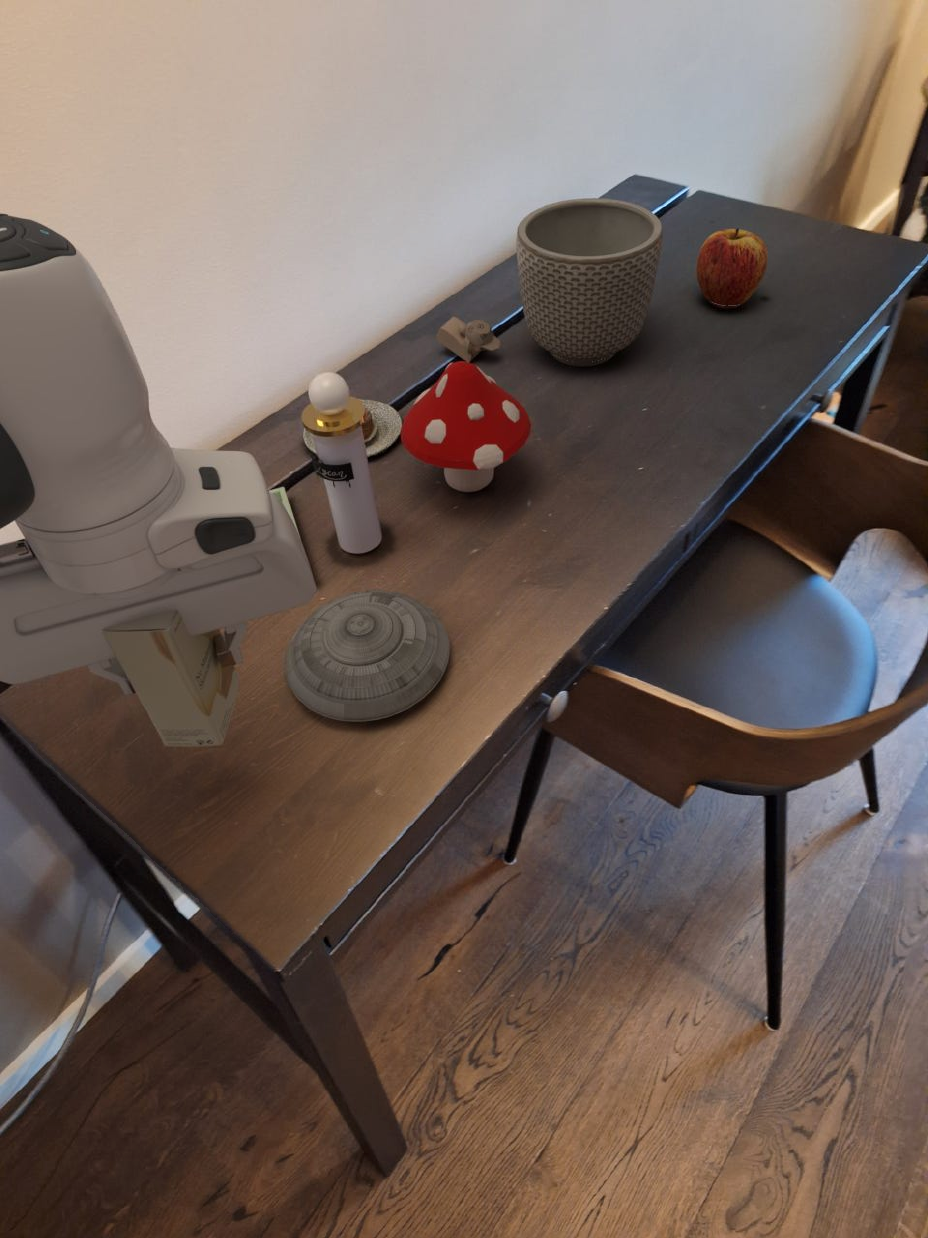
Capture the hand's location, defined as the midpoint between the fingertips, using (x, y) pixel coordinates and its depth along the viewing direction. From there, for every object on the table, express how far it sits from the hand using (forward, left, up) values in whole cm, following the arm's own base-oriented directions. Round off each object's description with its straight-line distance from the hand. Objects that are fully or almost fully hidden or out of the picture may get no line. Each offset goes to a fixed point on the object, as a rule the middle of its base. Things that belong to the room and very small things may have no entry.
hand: (185, 671), depth 56 cm
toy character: (+39, +54, -15) cm, 68 cm away
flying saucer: (+13, +8, -15) cm, 21 cm away
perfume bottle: (+16, +24, -15) cm, 33 cm away
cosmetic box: (0, 0, -5) cm, 5 cm away
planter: (+53, +49, -15) cm, 74 cm away
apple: (+76, +52, -15) cm, 94 cm away
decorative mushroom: (+30, +29, -15) cm, 45 cm away
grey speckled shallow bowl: (+20, +43, -15) cm, 50 cm away
